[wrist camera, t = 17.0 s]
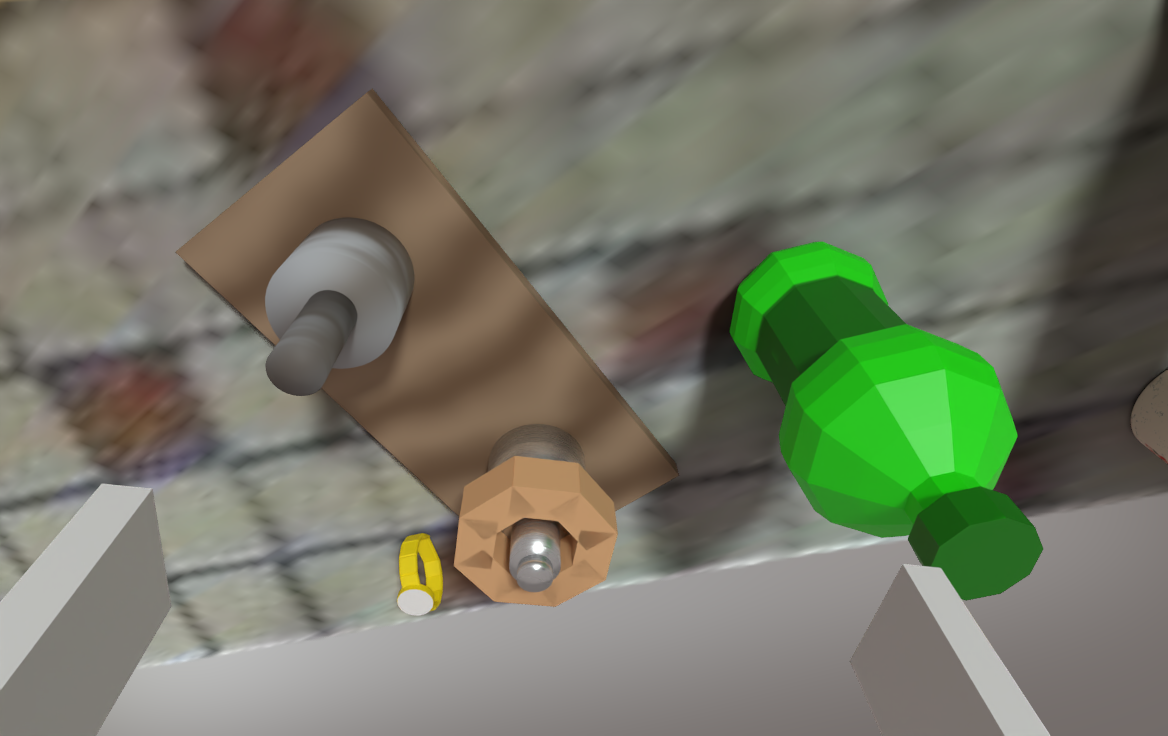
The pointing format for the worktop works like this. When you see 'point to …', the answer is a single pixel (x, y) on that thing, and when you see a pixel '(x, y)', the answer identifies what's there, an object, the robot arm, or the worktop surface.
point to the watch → (413, 593)
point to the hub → (531, 538)
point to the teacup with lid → (1153, 417)
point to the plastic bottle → (885, 417)
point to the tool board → (412, 312)
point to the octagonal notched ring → (535, 495)
